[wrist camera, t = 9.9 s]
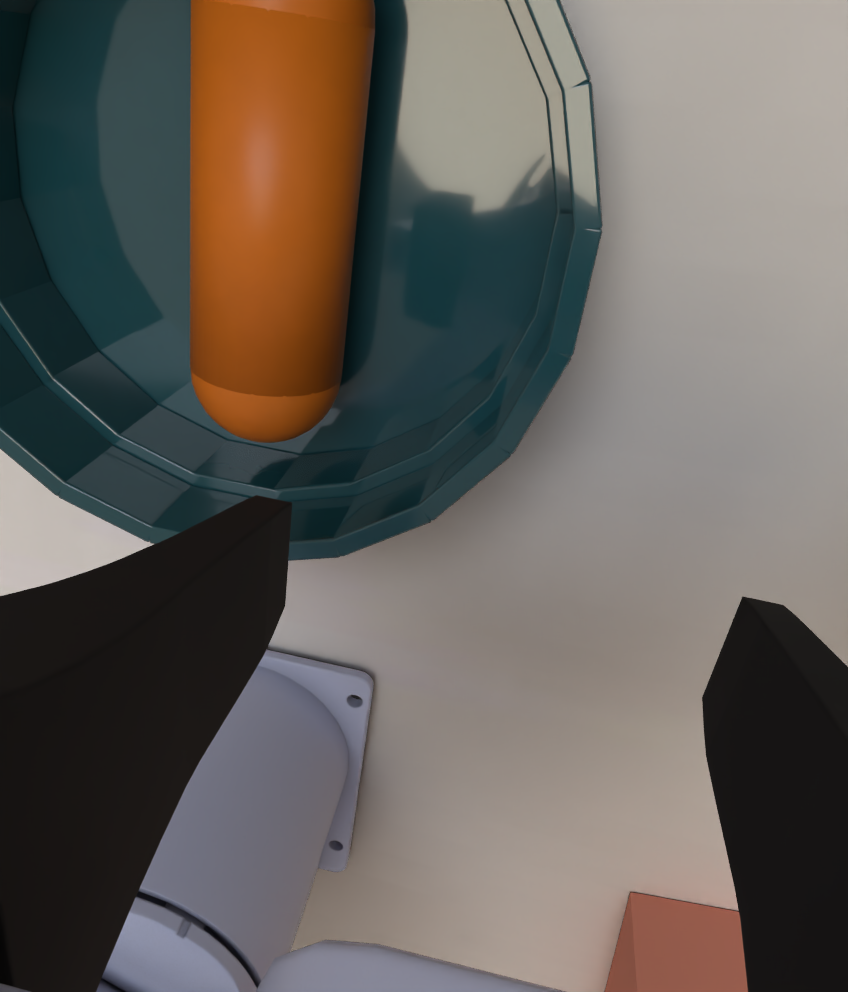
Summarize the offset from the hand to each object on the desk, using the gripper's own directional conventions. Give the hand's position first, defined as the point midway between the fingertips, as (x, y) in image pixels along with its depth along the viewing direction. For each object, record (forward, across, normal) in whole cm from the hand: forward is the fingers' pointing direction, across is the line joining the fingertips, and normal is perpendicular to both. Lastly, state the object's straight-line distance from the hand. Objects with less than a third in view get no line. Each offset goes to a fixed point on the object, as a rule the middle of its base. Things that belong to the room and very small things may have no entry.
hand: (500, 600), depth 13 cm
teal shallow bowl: (+9, +7, -4) cm, 12 cm away
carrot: (+9, +7, -4) cm, 12 cm away
